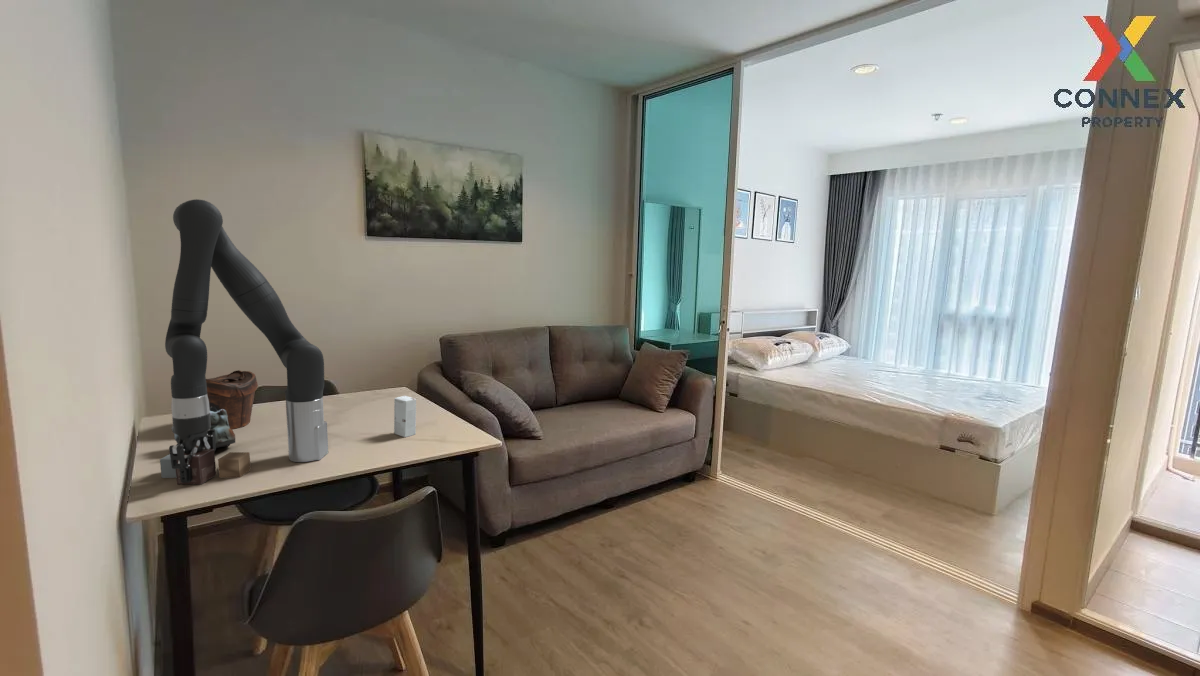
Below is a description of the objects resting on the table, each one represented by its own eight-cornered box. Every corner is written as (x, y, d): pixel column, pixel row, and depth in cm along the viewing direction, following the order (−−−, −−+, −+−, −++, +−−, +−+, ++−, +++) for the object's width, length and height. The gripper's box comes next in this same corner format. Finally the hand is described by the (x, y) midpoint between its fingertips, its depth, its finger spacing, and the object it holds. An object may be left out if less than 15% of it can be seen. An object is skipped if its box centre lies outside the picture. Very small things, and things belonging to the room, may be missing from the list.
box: (217, 475, 140) (215, 448, 139) (201, 485, 134) (198, 457, 133) (193, 475, 140) (190, 448, 139) (175, 484, 134) (173, 456, 133)
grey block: (195, 470, 143) (193, 452, 142) (182, 477, 138) (180, 459, 137) (175, 470, 143) (173, 452, 142) (161, 478, 138) (159, 459, 137)
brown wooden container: (266, 413, 192) (262, 364, 189) (252, 431, 174) (247, 377, 171) (207, 418, 186) (201, 367, 183) (186, 437, 168) (179, 381, 165)
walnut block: (250, 470, 144) (249, 452, 143) (239, 477, 139) (238, 459, 139) (230, 470, 144) (229, 452, 143) (219, 477, 139) (217, 459, 138)
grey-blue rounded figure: (167, 463, 147) (155, 415, 149) (189, 464, 158) (178, 419, 160) (228, 442, 151) (216, 396, 153) (245, 445, 162) (233, 402, 165)
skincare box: (393, 433, 176) (392, 397, 174) (405, 430, 180) (404, 395, 178) (405, 437, 172) (404, 401, 171) (417, 434, 176) (416, 398, 174)
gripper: (187, 421, 128) (193, 488, 130) (224, 405, 142) (228, 465, 144) (154, 421, 127) (160, 488, 129) (194, 404, 141) (199, 465, 144)
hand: (196, 476), depth 137 cm, fingers open, 6 cm apart
